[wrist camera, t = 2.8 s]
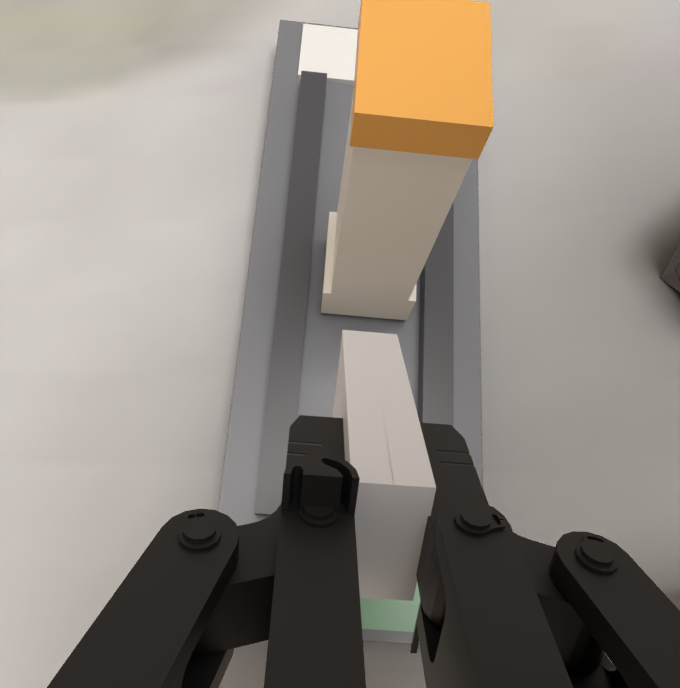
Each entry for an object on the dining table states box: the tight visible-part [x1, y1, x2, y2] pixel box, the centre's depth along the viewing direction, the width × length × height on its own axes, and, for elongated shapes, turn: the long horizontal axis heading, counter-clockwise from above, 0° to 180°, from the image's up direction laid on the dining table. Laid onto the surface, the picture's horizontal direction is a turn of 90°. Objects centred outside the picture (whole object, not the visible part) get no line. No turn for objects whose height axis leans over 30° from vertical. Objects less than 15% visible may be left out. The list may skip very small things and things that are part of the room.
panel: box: [218, 20, 483, 644], centre depth 27 cm, size 10×28×3 cm, turn 176°
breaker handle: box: [321, 0, 493, 320], centre depth 20 cm, size 4×4×12 cm
